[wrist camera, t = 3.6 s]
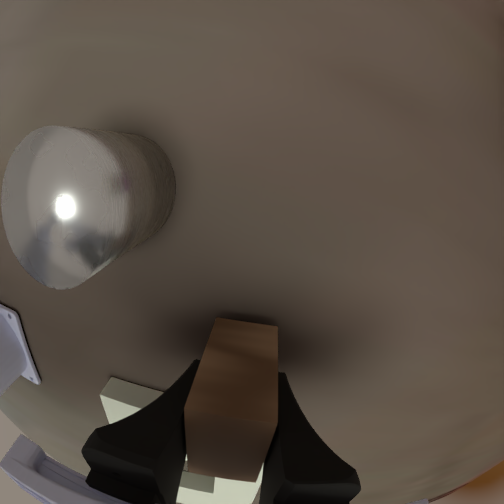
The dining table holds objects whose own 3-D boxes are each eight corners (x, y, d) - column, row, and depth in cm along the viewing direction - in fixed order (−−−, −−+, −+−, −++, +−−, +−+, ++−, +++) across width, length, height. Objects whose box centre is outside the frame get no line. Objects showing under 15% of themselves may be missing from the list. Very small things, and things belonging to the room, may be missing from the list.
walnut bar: (211, 387, 15) (188, 471, 9) (216, 317, 14) (183, 408, 8) (262, 395, 15) (255, 482, 9) (277, 326, 13) (277, 422, 8)
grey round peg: (84, 234, 14) (8, 273, 8) (87, 135, 12) (3, 133, 6) (172, 248, 14) (111, 305, 8) (181, 135, 12) (114, 119, 6)
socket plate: (144, 478, 22) (139, 490, 21) (111, 376, 17) (99, 394, 15) (248, 500, 22) (246, 514, 20) (280, 412, 17) (280, 435, 15)
